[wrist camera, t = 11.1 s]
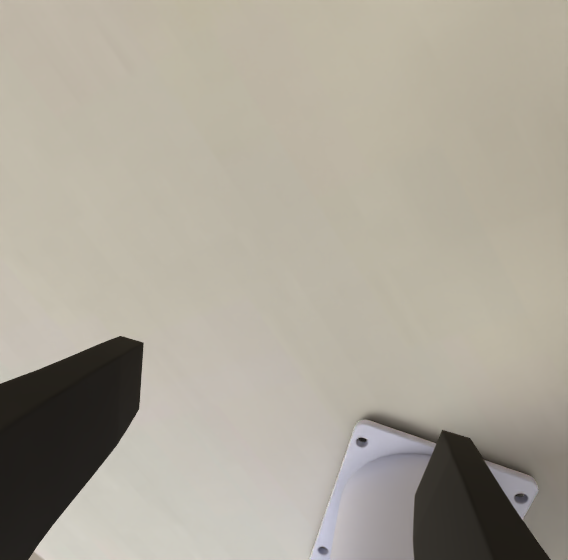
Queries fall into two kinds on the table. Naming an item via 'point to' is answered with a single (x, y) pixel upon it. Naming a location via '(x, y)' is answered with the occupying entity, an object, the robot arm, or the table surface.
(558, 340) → the table surface
